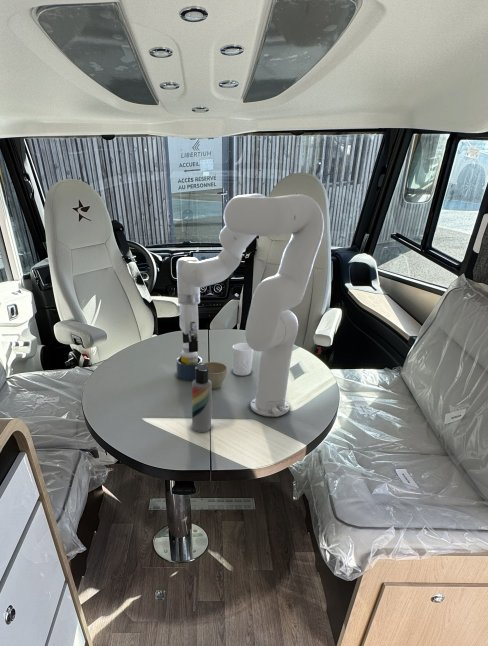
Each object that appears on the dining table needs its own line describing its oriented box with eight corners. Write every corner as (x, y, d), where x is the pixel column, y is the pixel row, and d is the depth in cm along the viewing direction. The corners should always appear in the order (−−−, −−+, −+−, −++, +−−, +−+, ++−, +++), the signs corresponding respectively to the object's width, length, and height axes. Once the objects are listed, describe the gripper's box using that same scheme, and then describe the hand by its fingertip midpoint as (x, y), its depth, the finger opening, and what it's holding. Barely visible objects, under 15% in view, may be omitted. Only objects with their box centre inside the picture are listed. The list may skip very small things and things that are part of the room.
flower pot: (211, 395, 153) (211, 375, 148) (193, 385, 159) (193, 366, 155) (232, 387, 158) (233, 368, 154) (213, 377, 164) (214, 359, 160)
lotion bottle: (200, 421, 138) (200, 360, 127) (214, 427, 135) (216, 365, 124) (188, 428, 135) (187, 366, 123) (202, 434, 132) (203, 372, 120)
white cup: (252, 376, 165) (254, 351, 159) (231, 376, 165) (233, 350, 159) (251, 368, 171) (253, 343, 165) (230, 367, 171) (232, 342, 166)
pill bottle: (179, 371, 167) (178, 343, 160) (194, 369, 169) (194, 341, 162) (184, 378, 162) (183, 349, 156) (200, 376, 164) (200, 347, 158)
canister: (204, 379, 163) (204, 363, 160) (179, 381, 161) (179, 366, 158) (198, 369, 170) (198, 354, 167) (174, 371, 169) (174, 356, 165)
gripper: (173, 292, 155) (175, 340, 165) (183, 305, 142) (185, 356, 151) (193, 291, 157) (194, 338, 167) (206, 303, 143) (206, 354, 153)
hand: (190, 347), depth 159 cm, fingers open, 9 cm apart
